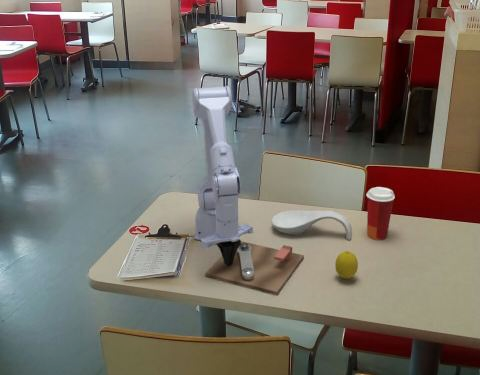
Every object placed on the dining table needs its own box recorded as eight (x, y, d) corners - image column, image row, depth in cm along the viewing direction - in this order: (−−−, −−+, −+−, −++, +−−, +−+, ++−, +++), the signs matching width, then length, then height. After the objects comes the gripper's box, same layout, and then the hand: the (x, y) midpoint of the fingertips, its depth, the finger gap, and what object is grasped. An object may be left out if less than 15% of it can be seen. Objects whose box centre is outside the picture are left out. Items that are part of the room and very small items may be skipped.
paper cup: (391, 231, 161) (396, 188, 156) (389, 243, 155) (394, 198, 149) (364, 227, 164) (368, 184, 158) (361, 239, 157) (365, 195, 152)
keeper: (274, 267, 142) (274, 256, 141) (283, 255, 148) (283, 245, 146) (282, 269, 141) (283, 258, 140) (292, 257, 147) (292, 247, 145)
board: (205, 276, 140) (205, 273, 140) (237, 243, 156) (237, 240, 156) (277, 295, 132) (277, 291, 132) (303, 258, 148) (303, 255, 148)
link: (236, 249, 150) (236, 241, 149) (250, 248, 150) (250, 241, 150) (240, 280, 136) (240, 272, 135) (256, 279, 136) (256, 271, 135)
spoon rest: (267, 236, 160) (267, 215, 157) (276, 219, 170) (276, 198, 167) (349, 247, 154) (350, 224, 151) (353, 228, 164) (354, 206, 161)
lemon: (356, 285, 136) (358, 257, 132) (334, 283, 137) (335, 255, 133) (356, 273, 141) (359, 246, 137) (335, 271, 142) (336, 244, 138)
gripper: (210, 231, 131) (212, 279, 136) (259, 215, 138) (259, 261, 144) (196, 220, 136) (198, 267, 142) (243, 205, 144) (244, 250, 149)
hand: (228, 263), depth 143 cm, fingers closed
